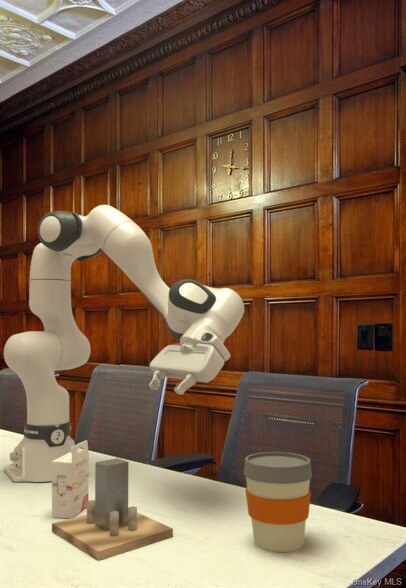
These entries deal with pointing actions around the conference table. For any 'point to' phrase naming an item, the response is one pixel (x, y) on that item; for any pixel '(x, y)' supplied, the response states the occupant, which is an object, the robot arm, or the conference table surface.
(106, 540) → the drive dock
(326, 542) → the conference table surface
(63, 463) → the ink cartridge box
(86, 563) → the conference table surface
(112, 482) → the plate
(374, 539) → the conference table surface
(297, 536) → the reusable coffee cup
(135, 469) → the conference table surface
